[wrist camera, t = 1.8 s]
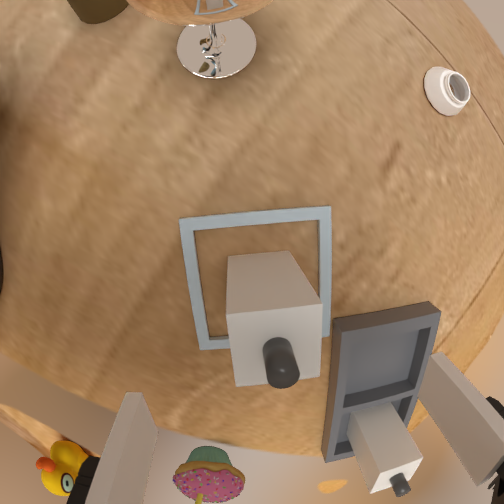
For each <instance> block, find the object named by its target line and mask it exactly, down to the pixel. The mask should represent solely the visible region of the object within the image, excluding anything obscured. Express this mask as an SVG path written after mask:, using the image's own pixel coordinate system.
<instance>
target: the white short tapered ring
mask: <svg viewBox="0 0 504 504" xmlns="http://www.w3.org/2000/svg"><path fill="white" fill-rule="evenodd" d="M449 82H450V84H451V85H452V87H453V90H454V93H455V96H454V95H453V93H452V91H451V89H450V85H449ZM424 88H425V91H426V95H427V98H428V99H429V101H430V103H431V104H432V106H433V107H434V108H435V109H436V110H437V111H438V112H439V113H441V114H444V115H446V116H451V115H456V114H458V113H459V112H460V111H461V110H462V108H463V107H464V106H465V105H466V102H468V100H469V98H470V88H469V85H468V83H467V81H466V80H465V78H464V77H463V76H462V75H461V74H459V73H457V72H454V71H452V70H449V69H446V68H444V67H432V68H431V69H430V70H428V71H427V73H426V75H425V78H424Z"/></svg>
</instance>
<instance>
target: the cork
mask: <svg viewBox="0 0 504 504" xmlns="http://www.w3.org/2000/svg"><path fill="white" fill-rule="evenodd" d="M67 1H68V2H69V4H70V5H71V7H72V8H73V10H74V11H75V12H76V14H77V15H78V17H79V18H80V19H81V21H83V22H85V23H87V24H97V23H101V22H105V21H107V20H109V19H111V18H113V17H115V16H116V15H118V14H119V13H121V12H122V11H123V10H124V9H125V8H126V7H127V6H128V5H129V4H128V3H127V2H126V0H67Z"/></svg>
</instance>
